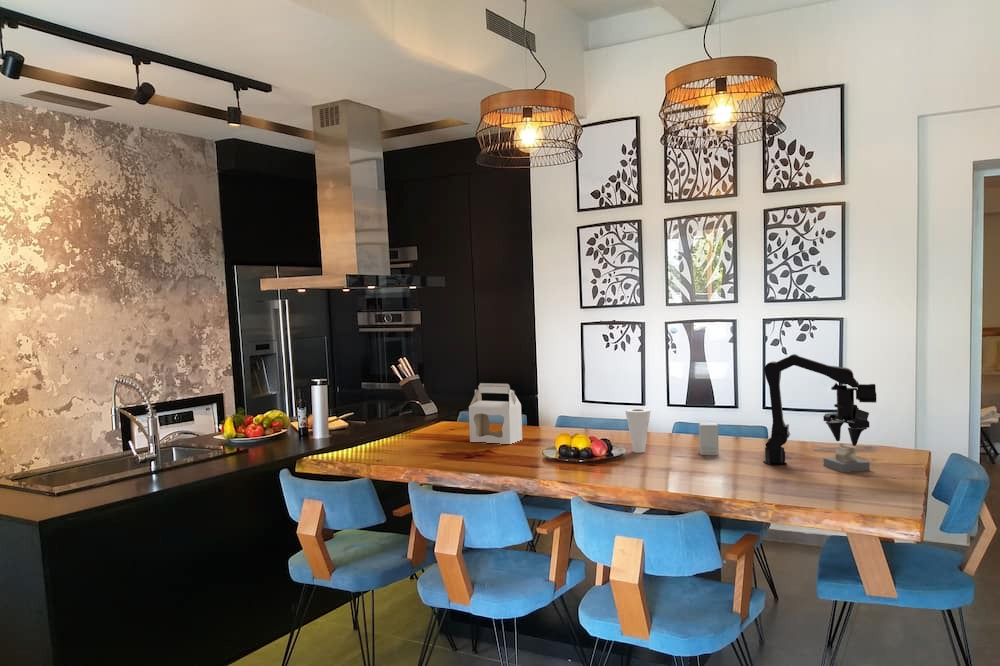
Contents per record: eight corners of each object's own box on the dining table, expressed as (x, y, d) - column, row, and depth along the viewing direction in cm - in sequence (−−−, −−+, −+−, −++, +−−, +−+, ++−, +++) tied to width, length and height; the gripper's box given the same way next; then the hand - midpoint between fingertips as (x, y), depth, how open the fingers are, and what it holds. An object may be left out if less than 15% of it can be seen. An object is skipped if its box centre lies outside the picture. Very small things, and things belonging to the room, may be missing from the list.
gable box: (469, 442, 338) (467, 384, 337) (482, 437, 350) (480, 381, 349) (510, 445, 328) (508, 385, 327) (522, 440, 340) (521, 382, 339)
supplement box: (719, 455, 292) (718, 425, 291) (700, 455, 293) (699, 425, 293) (717, 451, 299) (716, 422, 298) (699, 451, 300) (698, 422, 300)
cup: (652, 454, 298) (651, 412, 298) (626, 454, 300) (625, 412, 299) (650, 449, 309) (649, 408, 308) (626, 449, 310) (625, 408, 310)
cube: (844, 462, 260) (844, 448, 260) (835, 459, 265) (835, 446, 265) (856, 461, 261) (856, 447, 261) (847, 458, 266) (847, 445, 265)
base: (842, 472, 256) (842, 464, 256) (823, 465, 267) (823, 458, 267) (869, 470, 258) (869, 462, 258) (849, 463, 269) (849, 456, 269)
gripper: (882, 403, 254) (883, 446, 255) (848, 397, 272) (848, 437, 273) (854, 405, 252) (855, 448, 253) (822, 399, 271) (823, 439, 271)
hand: (846, 443), depth 262 cm, fingers open, 9 cm apart
